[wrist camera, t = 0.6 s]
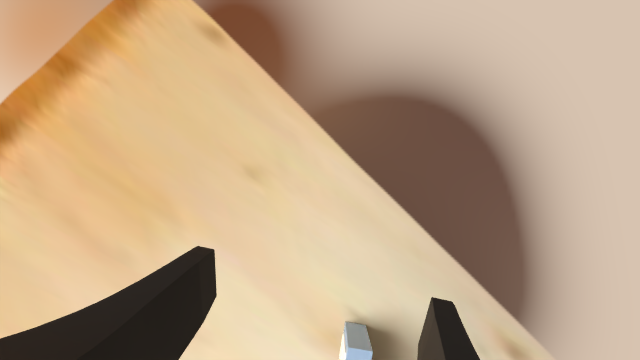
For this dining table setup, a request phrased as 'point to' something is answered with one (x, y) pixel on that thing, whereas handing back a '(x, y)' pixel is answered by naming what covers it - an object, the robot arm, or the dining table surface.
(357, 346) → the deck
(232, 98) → the dining table surface
